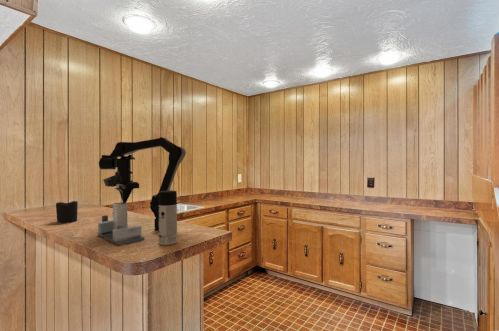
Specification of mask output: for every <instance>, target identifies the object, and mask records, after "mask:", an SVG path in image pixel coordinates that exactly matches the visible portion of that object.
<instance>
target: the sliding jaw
mask: <svg viewBox="0 0 499 331" xmlns="http://www.w3.org/2000/svg"><path fill="white" fill-rule="evenodd" d="M97 225H98V226H97V230H98V231H97V233H98V232H99V233H105V232H110V231H113V219H112V220H109V215H106V214H105V215H101V221H100V222H97Z"/></svg>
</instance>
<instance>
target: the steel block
mask: <svg viewBox="0 0 499 331" xmlns="http://www.w3.org/2000/svg"><path fill="white" fill-rule="evenodd" d="M112 220H113V230H115V229H120V228H126V227H129V226H128V225H129V224H128V223H129V221H128V203H127V202H126V203H123V201H121V202H115V203H114V202H113V203H112Z"/></svg>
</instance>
